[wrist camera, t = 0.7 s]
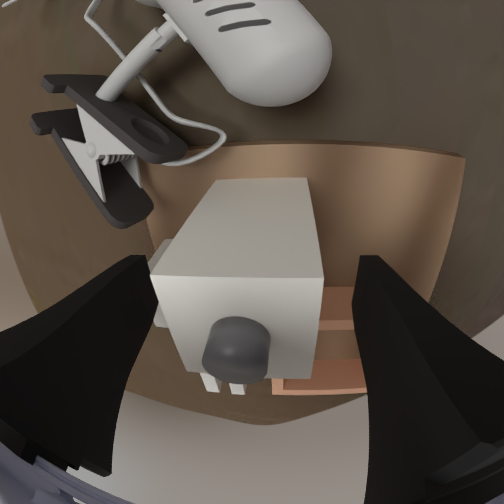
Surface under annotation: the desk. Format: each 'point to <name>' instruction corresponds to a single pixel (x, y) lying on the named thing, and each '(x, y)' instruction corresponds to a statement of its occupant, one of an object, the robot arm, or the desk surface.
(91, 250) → the desk surface
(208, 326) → the connector plug
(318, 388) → the frame
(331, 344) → the board
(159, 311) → the clips
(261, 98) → the clip-on lamp
